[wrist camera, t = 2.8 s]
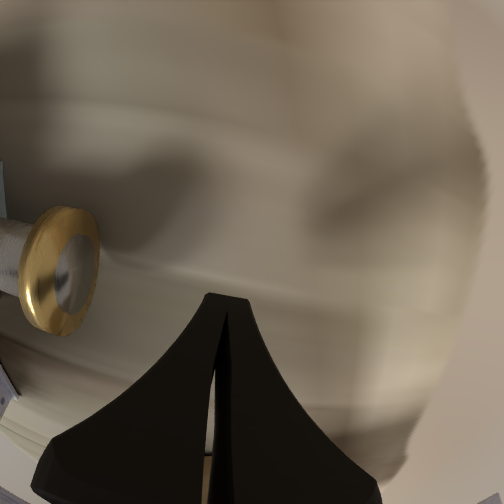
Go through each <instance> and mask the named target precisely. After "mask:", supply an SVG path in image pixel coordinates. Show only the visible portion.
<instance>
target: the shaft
mask: <svg viewBox="0 0 504 504" xmlns="http://www.w3.org/2000/svg"><path fill="white" fill-rule="evenodd" d="M99 256H100V243H99V233H98V228H97V225H96V222H95V220H94V218H93V216H92V215H91V214H90V213H89V212H88V211H86V210H83V209H77V208H71V207H65V206H55V207H52V208H50V209H48V210H47V211H46V212H44V213H43V214H42V215H41V216H40V217H39V219H38V220H37V221H36V223H35V224H30V223H25V222H21V221H16V220H11V219H7V218H2V217H0V290H1V291H3V292H6V293H9V294H11V295H14V296H17V297H19V299H20V303H21V307H22V310H23V312H24V314H25V316H26V318H27V320H28V321H29V322H30V323H31V324H32V325H33V326H34V327H36V328H38V329H41V330H43V331H46V332H49V333H52V334H54V335H57V336H61V337H63V336H68V335H70V334H71V333H73V332H74V331H75V330H76V329H77V328H78V326H79V325H80V324H81V322H82V320H83V319H84V317H85V315H86V313H87V310H88V308H89V305H90V303H91V300H92V297H93V293H94V289H95V285H96V280H97V275H98V268H99Z"/></svg>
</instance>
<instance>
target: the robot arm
mask: <svg viewBox="0 0 504 504" xmlns="http://www.w3.org/2000/svg"><path fill="white" fill-rule="evenodd" d="M214 371H215V425H214V441H213V450H212V460H211V469H210V479H209V488H208V497H207V504H382V498H381V494H380V491H379V488H378V485H377V482H376V480H375V479H374V478H373V477H372V476H370V475H369V474H368V473H367V472H365V471H364V470H363V469H362V468H360V467H359V466H358V465H357V464H355V463H354V462H353V461H352V460H351V459H349V458H348V457H347V456H346V455H345V454H344V453H343V452H342V451H341V450H340V449H339V448H338V447H337V446H336V445H335V444H334V443H333V442H332V441H331V440H330V439H329V438H328V437H327V436H326V435H325V434H324V432H323V431H322V430H321V429H320V428H319V427H318V426H317V425H316V423H315V422H314V421H313V420H312V419H311V418H310V416H309V415H308V414H307V413H306V411H305V410H304V409H303V407H302V406H301V405H300V403H299V402H298V401H297V399H296V398H295V396H294V395H293V393H292V392H291V390H290V389H289V387H288V386H287V384H286V383H285V381H284V379H283V378H282V376H281V374H280V372H279V371H278V369H277V367H276V365H275V363H274V362H273V360H272V358H271V356H270V354H269V352H268V349H267V347H266V345H265V343H264V341H263V339H262V336H261V334H260V331H259V329H258V326H257V324H256V321H255V318H254V315H253V312H252V309H251V305H250V302H249V301H248V299H243V298H237V297H232V296H226V295H221V294H215V293H210V292H209V293H207V294H205V296H204V299H203V301H202V303H201V305H200V307H199V308H198V310H197V312H196V313H195V315H194V316H193V318H192V319H191V321H190V322H189V324H188V325H187V326H186V328H185V329H184V331H183V332H182V333H181V335H180V336H179V337H178V338H177V340H176V341H175V342H174V343H173V344H172V345H171V347H170V348H169V349H168V350H167V351H166V353H165V354H164V355H163V356H162V357H161V358H160V359H159V360H158V361H157V362H156V363H155V364H154V365H153V366H152V367H151V368H150V369H149V370H148V371H147V372H146V373H145V374H144V375H143V376H142V377H141V378H140V379H139V380H137V381H136V382H135V383H134V384H133V385H132V386H131V387H129V388H128V389H127V390H126V391H125V392H123V393H122V394H121V395H120V396H118V397H117V398H116V399H114V400H113V401H112V402H110V403H109V404H107V405H106V406H105V407H103V408H102V409H100V410H99V411H98V412H96V413H95V414H93V415H92V416H90V417H89V418H87V419H86V420H84V421H82V422H80V423H79V424H77V425H75V426H73V427H72V428H70V429H68V430H66V431H65V432H63V433H61V434H59V435H57V436H55V437H54V438H52V439H51V441H50V442H49V444H48V445H47V447H46V449H45V450H44V452H43V454H42V456H41V458H40V459H39V462H38V464H37V467H36V471H35V473H34V476H33V479H32V482H31V485H30V486H31V488H32V490H33V492H35V493H36V494H37V495H39V496H40V497H42V498H43V499H45V500H46V501H48V502H50V503H51V504H202V486H203V470H204V455H205V442H206V430H207V419H208V408H209V398H210V388H211V384H212V379H213V375H214ZM11 398H13V399H15V400H18V399H19V396H18V394H17V393H16V391H15V389H14V388H13V386H12V384H11V382H10V381H9V379H8V377H7V375H6V373H5V372H4V370H3V368H2V366H1V364H0V420H1V418H2V416H3V414H4V412H5V410H6V408H7V406H8V404H9V402H10V400H11ZM0 504H30V503H28V502H26V501H24V500H22V499H21V498H19V497H17V496H16V495H14V494H12V493H10V492H9V491H7V490H5V489H4V488H2V487H1V486H0ZM477 504H502V503H501V499H500V496H499V493H495V494H493V495H492V496H490V497H488V498H487V499H485V500H483V501H481V502H479V503H477Z"/></svg>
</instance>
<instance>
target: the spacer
mask: <svg viewBox="0 0 504 504" xmlns="http://www.w3.org/2000/svg"><path fill="white" fill-rule="evenodd" d="M0 217H2V218H7V213H6V204H5V193H4V179H3V161H0Z"/></svg>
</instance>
